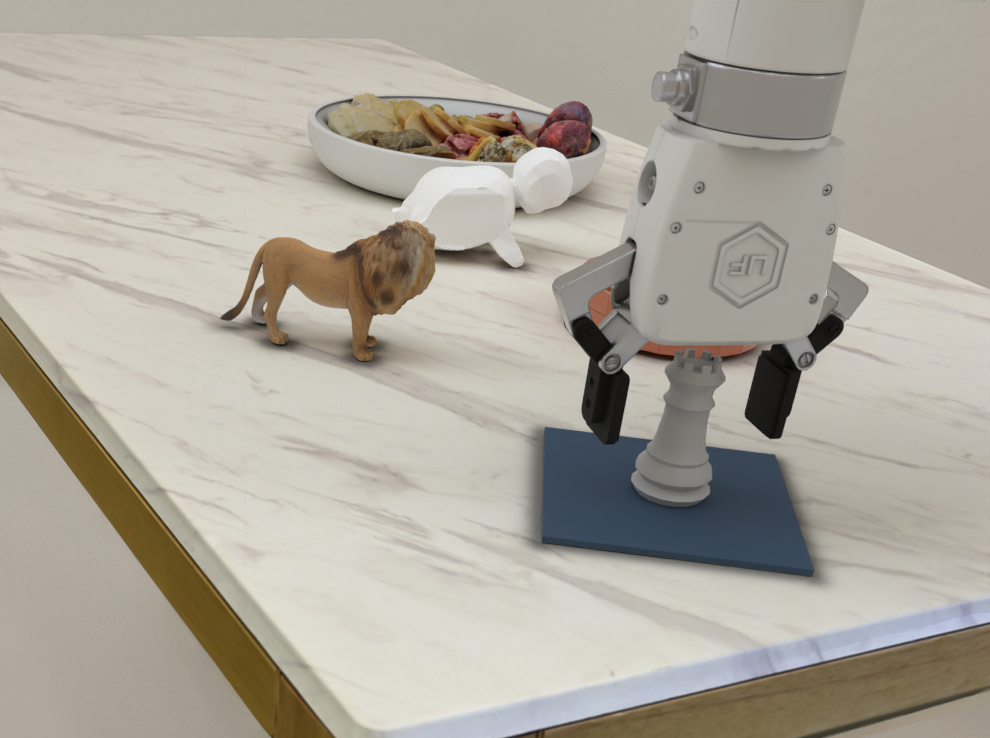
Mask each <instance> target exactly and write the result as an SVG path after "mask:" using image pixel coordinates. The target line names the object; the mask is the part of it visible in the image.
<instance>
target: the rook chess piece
mask: <svg viewBox="0 0 990 738" xmlns="http://www.w3.org/2000/svg"><path fill="white" fill-rule="evenodd" d="M695 351H696V350H695V348H686V351H685V355H684V356H683V352H684V351H682V350H680V349H679V350H678V351H676V352H675V356H674V358H673V360H672V361H671V362H669V363H668V364H667V365H665V367H664V374H665V376H666V378H667V380H668V382H669V388H668V389H667V391H665V392H664V393H663V396H662V399H663V401H664V403H665V404H664V408H663V412H662V416H661V418H660V421H659V424H658V427H657V430H656V432H655V434H654V436H653V438H652V439H651V440H652V441H651V442H649V443H648V444H647V449H646V450H644V451H643V452H642V453H640V454H639V456H638V457H637V459H636V464H635V467H636V469H637V470H636V471H635V472H634V473H632V477H631V481H632V483H633V485H634V487H635V489H636V490H637V492H638V493H639V495H641V496H642V497H644V498H646V499H647V500H649V501H651V502H654V503H657V504H660V505H664V506H670V507H689V506H693V505H697V504H698V503H699V502H701V501H702V500H703V499H704V498H705V497H707V496H708V495H709V494H710V486H709V485H708V484H707V483H708V482H709V481H711V480H712V466H711V465H710V463H709V462H708V459H709V454H708V453H707V452H706V446H707V442H706V441H707V430H708V421H709V417H710V413H711V411H712V410H713V409H714V408H715V407H716V401H715V400H714V393H715V392H716V390H717V389H718V388H719V387H721V385H723V384H725V382H726V375H725V373H724V371H723V369H722V366H723V358H722V357H720V356H714V357H713V360H712V357H711V356H712V352H710V351H706V350H703V352H702V357H694V355H695Z"/></svg>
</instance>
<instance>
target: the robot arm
mask: <svg viewBox="0 0 990 738" xmlns="http://www.w3.org/2000/svg"><path fill="white" fill-rule="evenodd" d="M952 1H954V2H961V3H985V2H990V0H952ZM865 3H866V0H693V3H692V9H691V14H690V19H689V24H688V29H687V30H688V31H687V35H686V40H685V45H684V51H683V53H680V54H679V55H678V62H677V66H676V68H671V70H670V71H663V70H662V71H657V72H656V73H655V74H654V76H653V78H652V81H651V88H650V89H651V90H650V92H651V98H652V100H653V102H655V103H666V105H668V106H669V108H668V109H669V110H668V111H669V112H670V113H671V117H670V120H661V121H659V123H658V125H657V126H656V129H655V132H654V133H653V135H652V138H651V140H650V143H649V146H648V148H647V151H646V153H645V156H644V159H643V161H642V164H641V167H640V171H639V173H638V176H637V179H636V181H635V185H634V187H633V188H634V189H633V191H632V195H631V198H630V202H629V205H628V208H627V211H626V216H625V220H624V223H623V227H622V232H621V235H620V240H619V243H618V246H617V247H615V248H613V249H611V250H609V251H607V252H605V253H603V254H600V255H598V256H599V257H598V256H596V257H597V258H595V259H593V260H591V261H589V262H587V263H585V262H584V263H585V264H584V263H583V264H581V265H578V266H576V267H575V268H573V269H571V270H569V271H567V272H565V273H563V274H561V275H559V276H557V277H556V278H555V279H554V280H553V282H552V284H551V291H552V293H553V295H554V298H555V301H556V304H557V307H558V310H559V313H560V315H561V316H562V317H561V318H562V319H563V326H564V328H565V330H566V331H567V332H568V333H569V334H570V336H571V337H572V338H573V339H574V341H575V342H576V343H577V344H578V345H579V346H580V348H581V349H582V350H583V352H584V353H585V354H586V355H587V356H588V357H589V360H588V365H587V372H586V377H585V383H584V389H583V395H582V402H581V408H580V409H581V416H582V419H583V420H584V421H585V424H586V426H587V427H588V428H589V430H591V432H592V433H594V434H595V435H596V436H597V437H598V438H599V440H600V441H601V442H602V443H603V444H604V445H612V444H615V442H618V440H619V436H621V431H622V430H621V429H622V426H623V419H624V415H625V411H626V410H625V409H626V406H627V405H626V404H627V399H628V394H629V388H630V382H631V378H630V375H629V374H628V373H627V371H625V370H624V367H625V366H626V364H628V362H629V361H631V360H632V359H633V358H634V356H635V355H637V353H639V352H640V351H641V350H640V349H641V348H642V347H643V346H644V345H645V344H646V343H647V342H648V341H650V342H653V343H656V344H661V345H672V346H705V345H757V346H760V345H762V346H763V345H769V346H770V349H764V350H763V349H762V350H761V353H760V355H758V357H757V360H756V364H755V368H754V372H753V376H752V380H751V384H750V389H749V393H748V396H747V401H746V403H745V409H744V418H745V419H746V420H747V421H748V422H749V423H750V424H751V425H753V427H755V428H756V429H757V430H758V431H759V432H760V433H761V434H763V436H764V437H766V438H767V439H769V440H780V439H781V438H782V437H783V434H784V430H785V425H786V422H787V418H788V417H789V416H790V415H791V413H792V409H793V406H794V402H795V399H796V396H797V392H798V387H799V384H800V380H801V377H802V374H803V373H802V372H803V371H808V370H810V369H811V368H812V367H814V365H815V364H816V362H817V355H818V354H819V353H820V352H822V351H823V350H824V349H826V348H827V347H828V346H829V345H831V344H832V342H834V341H835V340H836V339H837V338H838V337H839V336H841V334H842V333H843V331H844V328H845V322H846V321H849V320H850V319H851V317H852V316H853V315H854V313H855V312H856V310H858V308H859V307H860V306H861V304H862V303H863V301H864V300H865V299H866V297H867V296H868V294H869V285H868V284H866V283H865V282H864V281H863V280H861V279H860V278H858V277H857V276H856V275H854V274H852V273H851V272H849V271H848V270H847V269H845V268H844V267H842V266H841V265H839V264H838V263H836V262H835V261H834V255H835V251H836V250H835V249H836V243H837V239H838V231H839V226H840V219H841V211H842V202H843V193H844V178H845V177H844V176H845V155H846V154H845V153H846V150H845V149H846V147H845V146H846V144H845V141H844V140H843V139H841V138H839V137H837V136H834V135H832V132H833V129H834V125H835V121H836V116H837V113H838V110H839V109H838V108H839V106H840V101H841V97H842V93H843V89H844V85H845V82H846V77H847V74H848V71H847V70H848V68H849V65H850V60H851V56H852V53H853V49H854V45H855V43H856V37H857V34H858V30H859V27H860V22H861V19H862V15H863V12H864V11H863V10H864V7H865ZM610 287H611V297H610V300H611V306H612V308H613V310H612V311H611V312H610V313H609V314H608V315H607V316H606V317H605V318H604V319H603V320H602V321H601V322H600V323H599V324H598V325H596V324H595V323H594V322H593V319H592V316H591V313H590V312H591V311H590V308H589V302H590V300H591V298H592V297H593V296H594V295H596V294H598V293H600V292H602V291H604V290H606V289H608V288H610Z"/></svg>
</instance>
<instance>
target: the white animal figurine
mask: <svg viewBox="0 0 990 738" xmlns="http://www.w3.org/2000/svg"><path fill="white" fill-rule="evenodd" d="M572 184H573V178H572V173H571V169H570V165H569V162H568V160H567V159H566V157H565V156H564V155H563V154H561V153H560V152H558V151H556V150H554V149H551V148H546V147H539V148H534V149H532V150H530V151H529V152H527V153H525V154H524V155H523V156H522V157H521V158H520V159H518V161H517V162H516V164H515V165H514V168H513V178H510V179H509V177H508V176H507V175H506V174H505V173H504V172H503V171H502V170H501V169H499V168H496V167H493V166H488V165H477V166H467V167H438V168H435V169H433V170H431V171H429V172H428V173H427V174H425V175H424V176H423V177H422V178H421V179H420V181H419V182H418V184H417V185H416V187H415V189H414V190H413V192H412V193H411V194H410V195H409V196H408V197H407V198H406V199H403V202H402V203H401V206H400V207H393V208H392V209H391V211H392V215H393V218H394V221H395V223H396V222H403V221H405V220H410V221H415V222H419V223H420V224H422V225H423V227H426V228H428V230H429V233H431V234H434V235H435V236H436V240H435V246H434V249H435V251H447V252H448V251H449V252H453V251H464V250H469V249H473V248H477V247H480V246H482V245H485V244H489V245H490V247H492V249H493V250H494V251H495V253H496V254H497V255H498V256H499V257H500V258H501V259H503V261H505V262H506V263H507V264H508V265H510V267H512V268H515V269H516V268H519V267H522V266H523V264H524V262H525V258H524V255H523V253H522V249H521V248H520V246H519V244H518V243H517V240H516V239H515V238H514V236H513V234H512V233H511V231H510V228H511V226H512V225H513V222H514V219H515V215H516V214H515V213H516V208H515V202H516V201H517V200H518V202H519V203H520V205H521V206H522V207H521V208H522V209H523V210H524V213H526V214H528V215H534V214H540V213H542V212H543V211H545V210H550V209H555V208H557V207H559V206H561V205H562V204H564V202H566V201H567V200H568V199H569V198H570V197H569V194H570V192H571V189H572Z"/></svg>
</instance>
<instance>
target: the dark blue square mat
mask: <svg viewBox="0 0 990 738" xmlns="http://www.w3.org/2000/svg"><path fill="white" fill-rule="evenodd" d="M652 440H653V439H649V438H641V437H632V436H626V435H625V436H624V435H620V436H619V440H618V442H615V444H612V445H604V444H603V443H602V442H601V441H600V440H599V438H598V437H597V436H596V435H595V434H594V433H593V431H591V432H590V431H583V430H575V429H565V428H557V427H549V426H545V427H544V431H543V468H542V469H543V471H542V474H543V475H542V511H541V512H542V513H541V514H542V515H541V516H542V517H541V543H545V544H551V545H552V544H553V545H561V546H568V547H576V548H583V549H584V548H585V549H592V550H602V551H609V552H616V553H617V552H618V553H625V554H632V555H633V554H634V555H641V556H649V557H657V558H662V559H663V558H664V559H672V560H680V561H689V562H696V563H697V562H698V563H704V564H712V565H720V566H727V567H736V568H745V569H751V570H759V571H766V572H767V571H769V572H775V573H784V574H791V575H798V576H799V575H800V576H806V577H813V576H814V572H815V569H814V568H815V567H814V565H813V562H812V559H811V556H810V554H809V550H808V547H807V543H806V541H805V538H804V535H803V533H802V530H801V527H800V524H799V520H798V518H797V515H796V512H795V509H794V505H793V504H792V501H791V498H790V495H789V491H788V489H787V486H786V483H785V480H784V476H783V474H782V471H781V468H780V465H779V463H778V459H777V456H776V454H774V453H766V452H757V451H751V450H750V451H748V450H740V449H731V448H724V447H716V446H707V445H706V452H707V453H708V454H709V459H708V462H709V463H710V465H711V466H712V480H711V481H709V482H708V483H707V484H708V485H709V486H710V494H709V495H708V496H707V497H705V498H704V499H703V500H702V501H701V502H699V503H698V504H697V505H693V506H689V507H670V506H664V505H660V504H657V503H654V502H651V501H649V500H647V499H646V498H644V497H642V496H641V495H639V493H638V492H637V490H636V489H635V487H634V485H633V483H632V481H631V477H632V473H634V472H635V471H636V470H637V469H636V467H635V464H636V459H637V457H638V456H639V454H640V453H642V452H643V451H644V450H646V449H647V444H648V443H649V442H651V441H652Z"/></svg>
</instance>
